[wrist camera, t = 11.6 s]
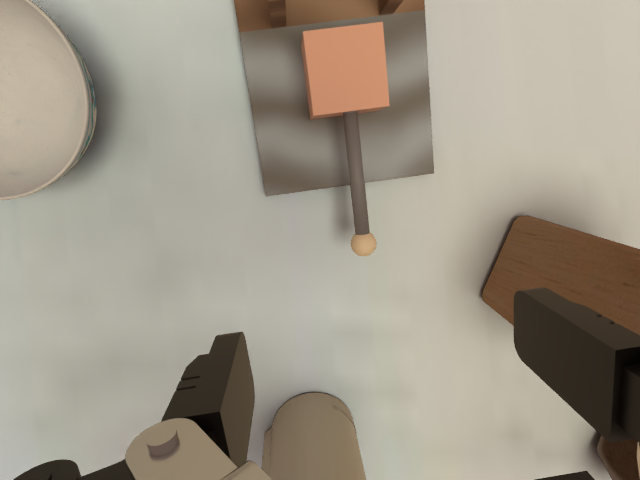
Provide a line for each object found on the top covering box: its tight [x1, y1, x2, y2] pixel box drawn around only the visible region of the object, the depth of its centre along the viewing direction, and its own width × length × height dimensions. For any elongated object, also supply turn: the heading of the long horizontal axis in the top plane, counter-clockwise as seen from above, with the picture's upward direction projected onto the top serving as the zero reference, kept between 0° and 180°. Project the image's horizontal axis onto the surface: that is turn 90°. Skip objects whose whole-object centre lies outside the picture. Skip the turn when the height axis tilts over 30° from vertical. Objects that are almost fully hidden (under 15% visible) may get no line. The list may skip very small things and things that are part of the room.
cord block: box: [301, 22, 390, 256], centre depth 34 cm, size 18×6×5 cm, turn 7°
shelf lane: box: [234, 0, 434, 196], centre depth 31 cm, size 26×16×9 cm, turn 7°
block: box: [482, 216, 640, 335], centre depth 32 cm, size 10×10×20 cm
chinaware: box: [0, 0, 97, 200], centre depth 31 cm, size 15×15×8 cm
